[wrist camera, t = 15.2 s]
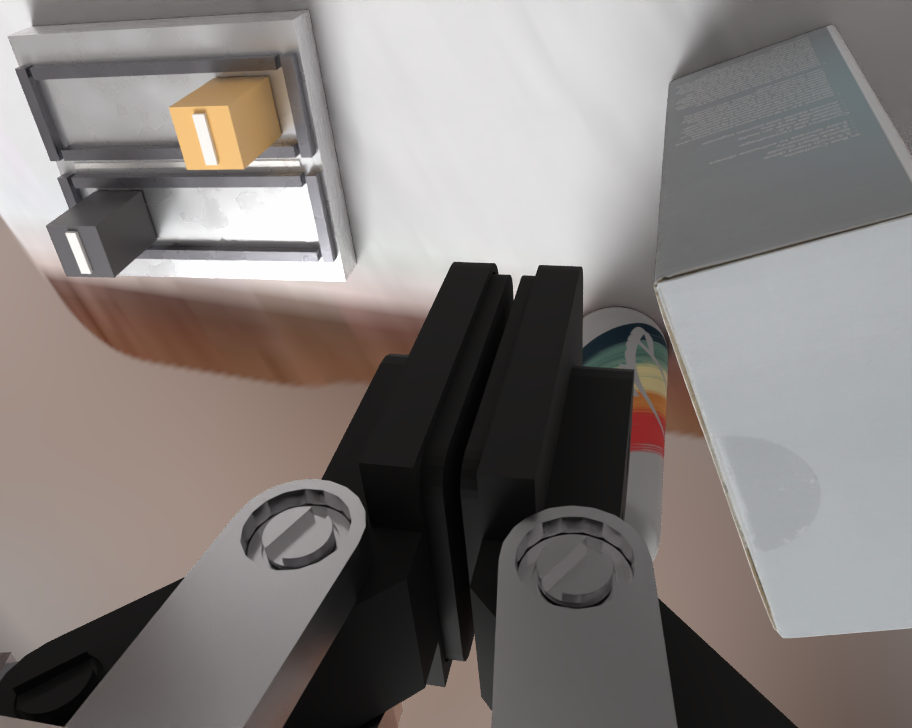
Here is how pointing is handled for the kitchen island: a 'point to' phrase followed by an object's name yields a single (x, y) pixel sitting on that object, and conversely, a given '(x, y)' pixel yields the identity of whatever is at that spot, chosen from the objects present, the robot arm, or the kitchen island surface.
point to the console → (158, 150)
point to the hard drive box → (797, 322)
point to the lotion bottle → (636, 405)
